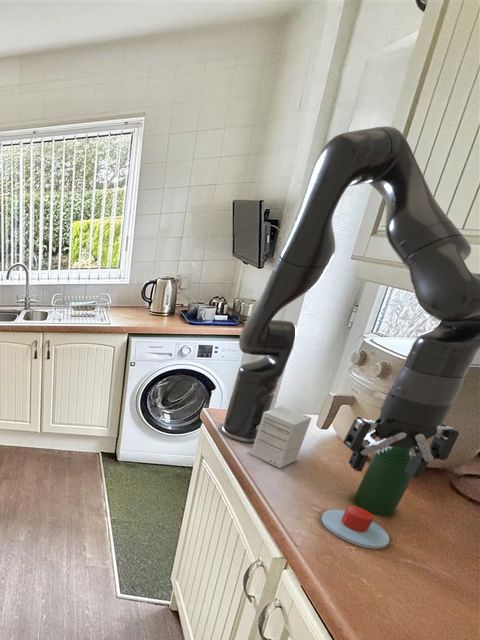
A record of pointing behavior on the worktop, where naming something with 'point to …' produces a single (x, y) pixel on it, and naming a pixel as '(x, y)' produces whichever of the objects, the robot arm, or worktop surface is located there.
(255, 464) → the worktop surface
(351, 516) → the cap
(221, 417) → the worktop surface
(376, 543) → the saucer
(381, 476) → the sauce bottle
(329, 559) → the worktop surface
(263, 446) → the white packaging box
